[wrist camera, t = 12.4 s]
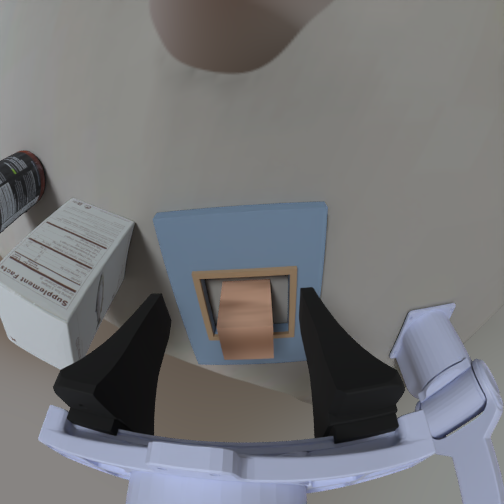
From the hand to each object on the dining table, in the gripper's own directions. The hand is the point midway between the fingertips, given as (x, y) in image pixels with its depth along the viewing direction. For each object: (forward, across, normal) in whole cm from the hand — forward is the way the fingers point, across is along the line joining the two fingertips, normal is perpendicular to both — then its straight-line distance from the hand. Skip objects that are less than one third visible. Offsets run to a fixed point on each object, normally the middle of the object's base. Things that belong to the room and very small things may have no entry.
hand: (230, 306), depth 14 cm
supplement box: (+11, +14, +1) cm, 18 cm away
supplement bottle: (+11, +21, -7) cm, 25 cm away
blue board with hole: (+10, 0, +9) cm, 14 cm away
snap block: (+10, 0, +9) cm, 14 cm away
